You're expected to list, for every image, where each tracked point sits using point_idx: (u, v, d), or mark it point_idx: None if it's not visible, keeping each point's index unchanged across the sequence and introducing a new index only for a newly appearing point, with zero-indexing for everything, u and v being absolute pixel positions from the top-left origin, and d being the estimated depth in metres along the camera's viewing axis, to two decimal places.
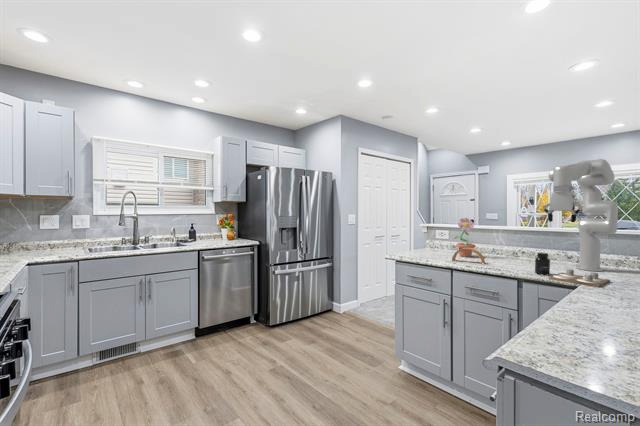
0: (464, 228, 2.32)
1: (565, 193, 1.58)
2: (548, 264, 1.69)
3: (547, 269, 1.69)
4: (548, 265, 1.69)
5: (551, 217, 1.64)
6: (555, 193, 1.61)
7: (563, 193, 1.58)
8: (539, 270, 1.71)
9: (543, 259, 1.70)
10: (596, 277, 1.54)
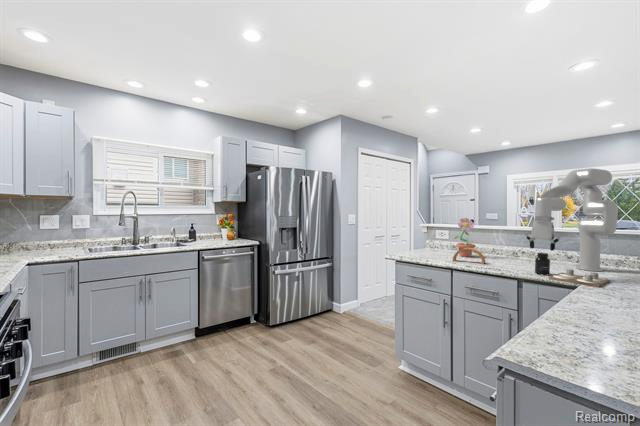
0: (464, 228, 2.32)
1: (545, 223, 1.69)
2: (548, 264, 1.69)
3: (547, 269, 1.69)
4: (548, 265, 1.69)
5: (532, 244, 1.76)
6: (536, 222, 1.72)
7: (543, 223, 1.69)
8: (539, 270, 1.71)
9: (543, 259, 1.70)
10: (596, 277, 1.54)
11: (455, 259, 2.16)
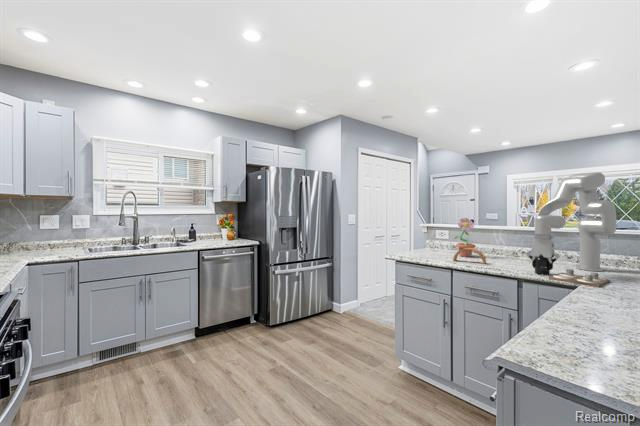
0: (464, 228, 2.32)
1: (545, 241, 1.69)
2: None
3: (547, 269, 1.69)
4: None
5: None
6: (536, 240, 1.73)
7: (543, 241, 1.70)
8: (539, 270, 1.71)
9: (543, 259, 1.70)
10: (596, 277, 1.54)
11: (456, 259, 2.16)
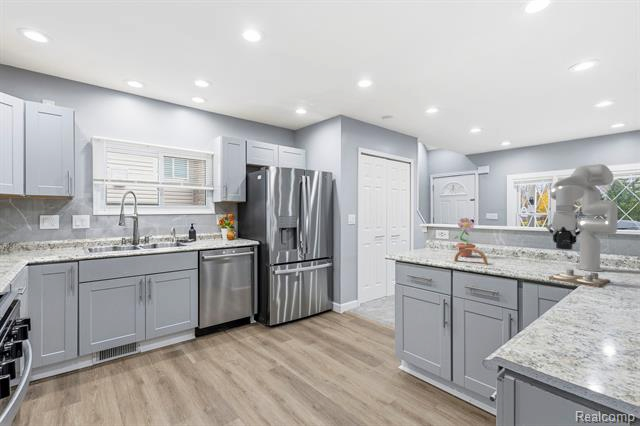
0: (464, 228, 2.32)
1: (568, 213, 1.55)
2: None
3: (570, 243, 1.55)
4: None
5: None
6: (558, 212, 1.59)
7: (566, 213, 1.56)
8: (560, 244, 1.57)
9: (565, 232, 1.56)
10: (596, 277, 1.54)
11: (457, 259, 2.15)
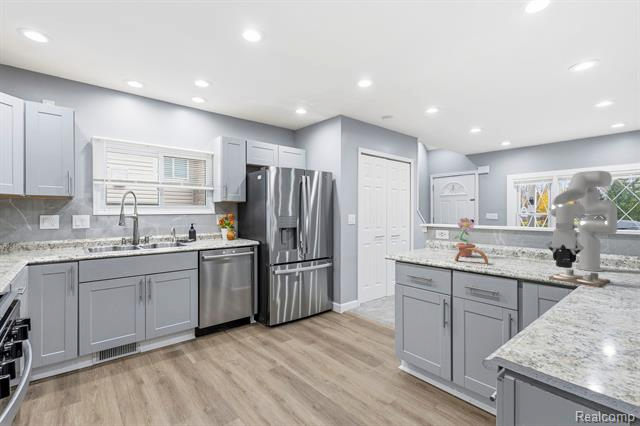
0: (464, 228, 2.32)
1: (568, 231, 1.55)
2: None
3: (570, 261, 1.55)
4: None
5: None
6: (557, 230, 1.59)
7: (566, 231, 1.56)
8: (560, 262, 1.57)
9: (565, 250, 1.56)
10: (596, 277, 1.54)
11: (457, 259, 2.15)
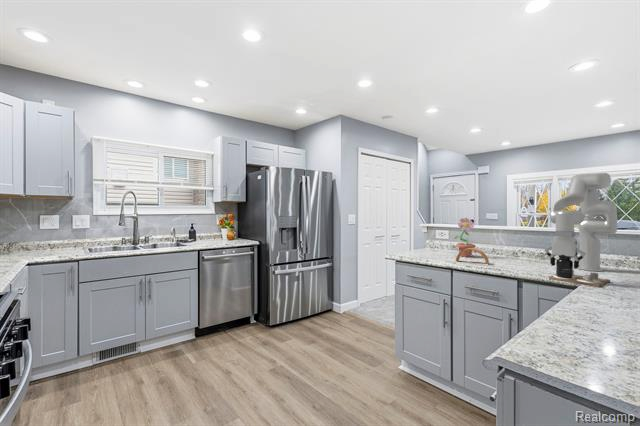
0: (464, 228, 2.32)
1: (568, 239, 1.55)
2: (571, 266, 1.56)
3: (570, 272, 1.55)
4: (571, 267, 1.56)
5: (553, 261, 1.62)
6: (557, 238, 1.59)
7: (565, 238, 1.56)
8: (561, 273, 1.57)
9: (565, 261, 1.56)
10: (596, 277, 1.54)
11: (458, 259, 2.14)
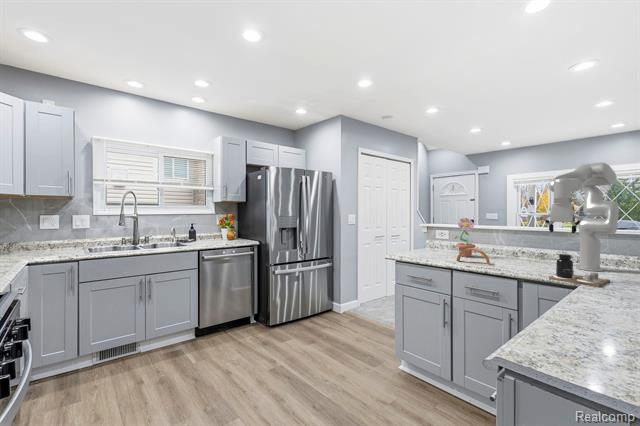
0: (464, 228, 2.32)
1: (565, 205, 1.61)
2: (571, 266, 1.56)
3: (570, 272, 1.55)
4: (571, 267, 1.56)
5: (552, 228, 1.69)
6: (555, 205, 1.65)
7: (563, 205, 1.62)
8: (561, 273, 1.57)
9: (566, 261, 1.56)
10: (596, 277, 1.54)
11: (459, 260, 2.14)
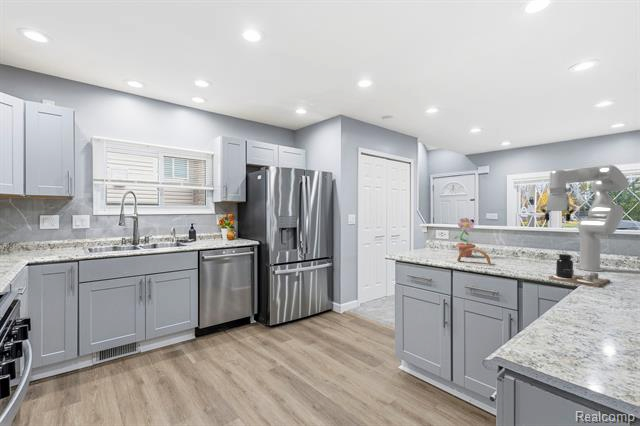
0: (464, 228, 2.32)
1: (560, 195, 1.73)
2: (571, 266, 1.56)
3: (570, 272, 1.55)
4: (571, 267, 1.56)
5: (548, 216, 1.80)
6: (551, 195, 1.76)
7: (558, 195, 1.74)
8: (561, 273, 1.57)
9: (566, 261, 1.56)
10: (596, 277, 1.54)
11: (459, 260, 2.13)
